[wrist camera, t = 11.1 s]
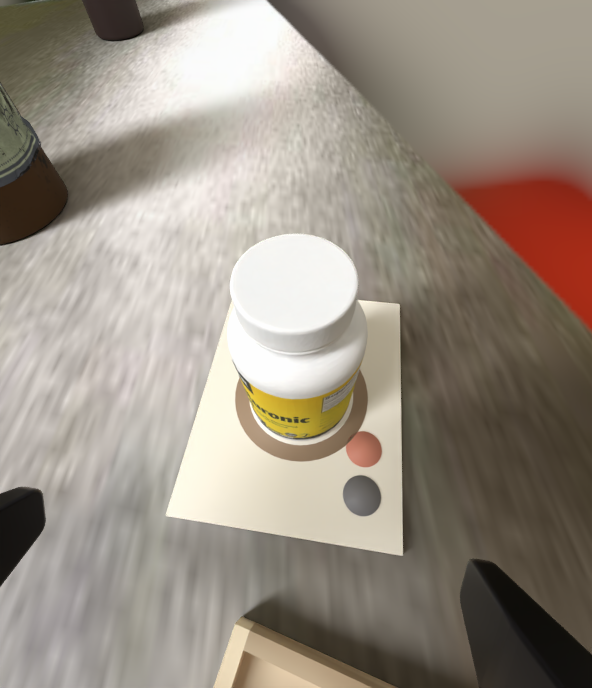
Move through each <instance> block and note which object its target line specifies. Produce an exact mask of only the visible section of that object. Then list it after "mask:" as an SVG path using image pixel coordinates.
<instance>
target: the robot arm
mask: <svg viewBox="0 0 592 688" xmlns="http://www.w3.org/2000/svg"><path fill="white" fill-rule="evenodd" d="M45 522H46V517H45V508H44V499H43V493H42V492H41V490H39V489H36V488H30V487H18V488H15V489H12V490H9V491H6V492H4V493H1V494H0V587H1V585H2V584H3V583H4V581H5V580H6V579H7V577H8V576H9V575H10V573H11V572H12V571H13V569H14V568H15V567H16V566H17V564H18V563H19V562H20V560H21V559H22V558H23V556H24V555H25V554H26V552H27V551H28V550H29V548H30V547H31V546H32V545H33V543H34V542H35V541H36V539H37V538H38V537H39V535H40V534H41V532H42V531H43V529H44V526H45ZM460 603H461V609H462V613H463V617H464V622H465V626H466V631H467V635H468V640H469V644H470V648H471V653H472V657H473V662H474V666H475V671H476V675H477V680H478V684H479V688H592V654H591V653H590V652H589V651H587V650H586V649H585V648H584V647H583V646H582V645H581V644H580V643H579V642H578V641H577V640H576V639H575V638H574V637H573V636H572V635H570V634H569V633H568V632H567V631H566V630H565V629H564V628H563V627H562V626H561V625H560V624H559V623H558V622H557V621H556V620H554V619H553V618H552V617H551V616H550V615H549V614H548V613H547V612H546V611H545V610H544V609H543V608H542V607H541V606H540V605H538V604H537V603H536V602H535V601H534V600H533V599H532V598H531V597H530V596H529V595H528V594H527V593H526V592H525V591H524V590H523V589H521V588H520V587H519V586H518V585H517V584H516V583H515V582H514V581H513V580H512V579H511V578H510V577H509V576H508V575H507V574H505V573H504V572H503V571H502V570H501V569H500V568H499V567H498V566H497V565H496V564H494V563H493V562H490V561H486V560H480V559H470V560H469V561H468V563H467V566H466V570H465V574H464V578H463V582H462V587H461V591H460Z"/></svg>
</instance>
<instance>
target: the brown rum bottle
mask: <svg viewBox="0 0 592 688" xmlns="http://www.w3.org/2000/svg"><path fill="white" fill-rule="evenodd" d="M38 142H39V139H38V136H37V134H36V133H35V131H34V129H33V128H32V126H31V124H30V123H29V122H28V121H27V120H26V119H24V118H23V117H22V116H21V115H20V113H19V111H18V110H17V108H16V107H15V105H14V103H13V102H12V100H11V99H10V97H9V95H8V94H7V92H6V90H5V89H4V87H3V86H2V84H1V82H0V244H5V243H9V242H13V241H16V240H19V239H22V238H24V237H27V236H29V235H31V234H33V233H35V232H37V231H38V230H40V229H42V228H43V227H45V226H46V225H47V224H49V223H50V222H51V221H52V220H54V219H55V218H56V217H57V216H58V214H59V213H60V212H61V211H62V209H63V208H64V206H65V203H66V201H67V195H68V194H67V189H66V186H65V184H64V183H63V181H62V179H61V178H60V176H59V175H58V173H57V171H56V170H55V168H54V167H53V165H52V164H51V162H50V160H49V159H48V157H47V156H46V154H45V153H44V151H43V149H42V148H41V142H39V143H38ZM39 144H40V145H39Z"/></svg>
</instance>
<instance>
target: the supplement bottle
mask: <svg viewBox="0 0 592 688" xmlns="http://www.w3.org/2000/svg"><path fill="white" fill-rule="evenodd" d="M358 286H359V282H358V274H357V270H356V268H355V265H354V263H353V261H352V260H351V258H350V257H349V256H348V255H347V254H346V253H345V252H344V251H343V250H342V249H341V248H340V247H338V246H337V245H335V244H334V243H332V242H330V241H328V240H326V239H323V238H320V237H317V236H313V235H308V234H284V235H278V236H274V237H271V238H268V239H265V240H263V241H261V242H259V243H257V244H256V245H254V246H252V247H251V248H250V249H248V250H247V251H246V252H245V253H244V254H243V255H242V256H241V257H240V259H239V260H238V261H237V263H236V265H235V267H234V269H233V271H232V274H231V280H230V294H231V297H232V301H233V304H234V308H233V310H232V312H231V315H230V318H229V321H228V327H227V342H228V348H229V351H230V354H231V357H232V361H233V364H234V366H235V368H236V370H237V372H238V374H239V377H240V379H241V382H242V384H243V386H244V389H245V391H246V393H247V396H248V398H249V400H250V403H251V405H252V408H253V410H254V412H255V414H256V416H257V417H258V419H259V420H260V422H261V423H262V424H263V425H264V426H265V427H266V428H267V429H268V430H269V431H270V432H272V433H273V434H275V435H277V436H279V437H281V438H284V439H288V440H292V441H308V440H313V439H316V438H319V437H321V436H323V435H325V434H327V433H328V432H330V431H331V430H332V429H334V428H335V427H336V426H337V425H338V423H339V422H340V421H341V419H342V418H343V416H344V414H345V412H346V410H347V408H348V406H349V403H350V399H351V396H352V393H353V390H354V386H355V383H356V380H357V376H358V373H359V370H360V367H361V364H362V360H363V357H364V354H365V349H366V345H367V337H368V329H367V321H366V317H365V314H364V311H363V309H362V307H361V305H360V303H359V302H358V300H357V294H358Z"/></svg>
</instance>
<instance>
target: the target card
mask: <svg viewBox="0 0 592 688" xmlns="http://www.w3.org/2000/svg"><path fill="white" fill-rule="evenodd" d="M358 302H359V303H360V305H361V307H362V309H363V311H364V314H365V317H366V321H367V329H368V337H367V345H366V349H365V354H364V357H363V360H362V364H361V367H360V370H359V373H358V376H357V380H356V383H355V386H354V390H353V393H352V396H351V399H350V403H349V406H348V408H347V410H346V412H345V414H344V416H343V418H342V419H341V421H340V422H339V423H338V425H337V426H336V427H335V428H334V429H332V430H331V431H330V432H328V433H327V434H325V435H323V436H321V437H319V438H316V439H313V440H308V441H292V440H288V439H284V438H281V437H279V436H277V435H275V434H273V433H272V432H270V431H269V430H268V429H267V428H266V427H265V426H264V425H263V424H262V423H261V422H260V420H259V419H258V417H257V416H256V414H255V412H254V410H253V408H252V405H251V403H250V400H249V398H248V396H247V393H246V391H245V389H244V386H243V384H242V382H241V379H240V377H239V374H238V372H237V370H236V368H235V366H234V364H233V361H232V357H231V354H230V351H229V348H228V342H227V327H228V321H229V318H230V315H231V312H232V310H233V308H234V304H233V301H231V305H230V308H229V311H228V314H227V318H226V321H225V324H224V327H223V331H222V334H221V337H220V340H219V344H218V347H217V350H216V353H215V357H214V360H213V363H212V366H211V370H210V373H209V376H208V379H207V383H206V386H205V389H204V392H203V396H202V399H201V402H200V405H199V409H198V412H197V415H196V418H195V422H194V425H193V428H192V431H191V435H190V438H189V441H188V444H187V448H186V451H185V454H184V457H183V461H182V464H181V467H180V470H179V474H178V477H177V480H176V483H175V487H174V490H173V493H172V496H171V500H170V503H169V506H168V509H167V513H166V516H170V517H175V518H181V519H187V520H193V521H199V522H205V523H211V524H217V525H223V526H229V527H234V528H240V529H246V530H252V531H258V532H264V533H270V534H276V535H282V536H288V537H293V538H299V539H305V540H311V541H317V542H323V543H329V544H335V545H341V546H347V547H353V548H358V549H364V550H370V551H376V552H382V553H388V554H394V555H400V556H403V520H402V439H401V359H400V304H394V303H383V302H373V301H362V300H358Z"/></svg>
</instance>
